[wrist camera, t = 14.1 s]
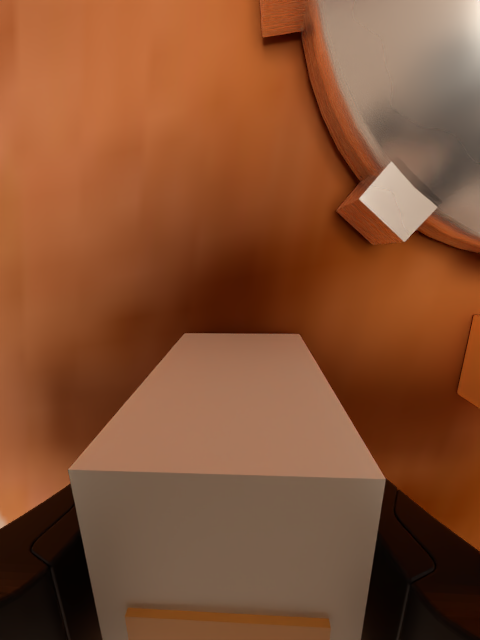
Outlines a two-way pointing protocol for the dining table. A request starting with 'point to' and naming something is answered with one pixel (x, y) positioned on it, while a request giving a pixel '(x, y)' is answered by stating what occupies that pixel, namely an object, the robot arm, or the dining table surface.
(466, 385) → the orange block
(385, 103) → the sprocket
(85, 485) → the link block
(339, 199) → the dining table surface
